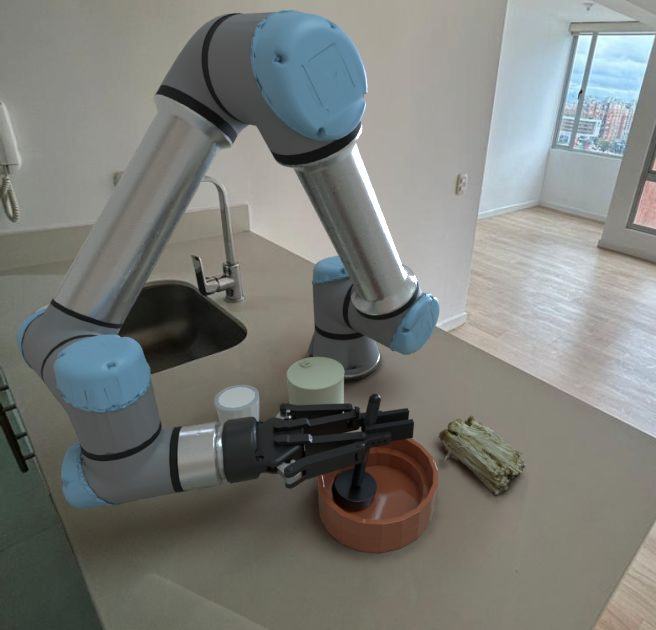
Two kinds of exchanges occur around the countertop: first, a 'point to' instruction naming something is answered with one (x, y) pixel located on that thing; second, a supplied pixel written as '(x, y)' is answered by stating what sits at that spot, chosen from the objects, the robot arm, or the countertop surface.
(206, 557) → the countertop surface
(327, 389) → the can
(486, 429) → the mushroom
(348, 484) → the peg stand
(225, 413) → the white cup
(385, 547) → the bowl
